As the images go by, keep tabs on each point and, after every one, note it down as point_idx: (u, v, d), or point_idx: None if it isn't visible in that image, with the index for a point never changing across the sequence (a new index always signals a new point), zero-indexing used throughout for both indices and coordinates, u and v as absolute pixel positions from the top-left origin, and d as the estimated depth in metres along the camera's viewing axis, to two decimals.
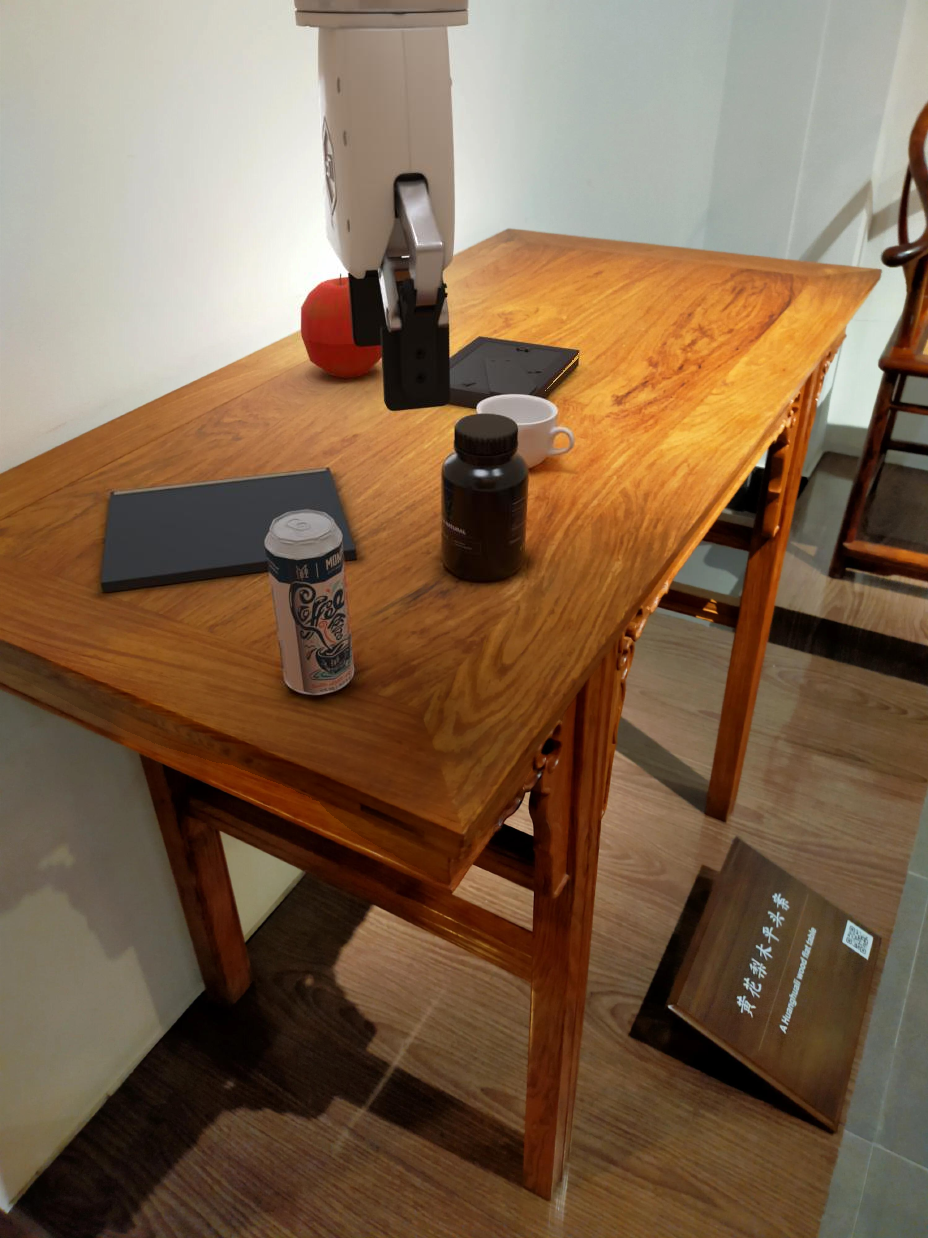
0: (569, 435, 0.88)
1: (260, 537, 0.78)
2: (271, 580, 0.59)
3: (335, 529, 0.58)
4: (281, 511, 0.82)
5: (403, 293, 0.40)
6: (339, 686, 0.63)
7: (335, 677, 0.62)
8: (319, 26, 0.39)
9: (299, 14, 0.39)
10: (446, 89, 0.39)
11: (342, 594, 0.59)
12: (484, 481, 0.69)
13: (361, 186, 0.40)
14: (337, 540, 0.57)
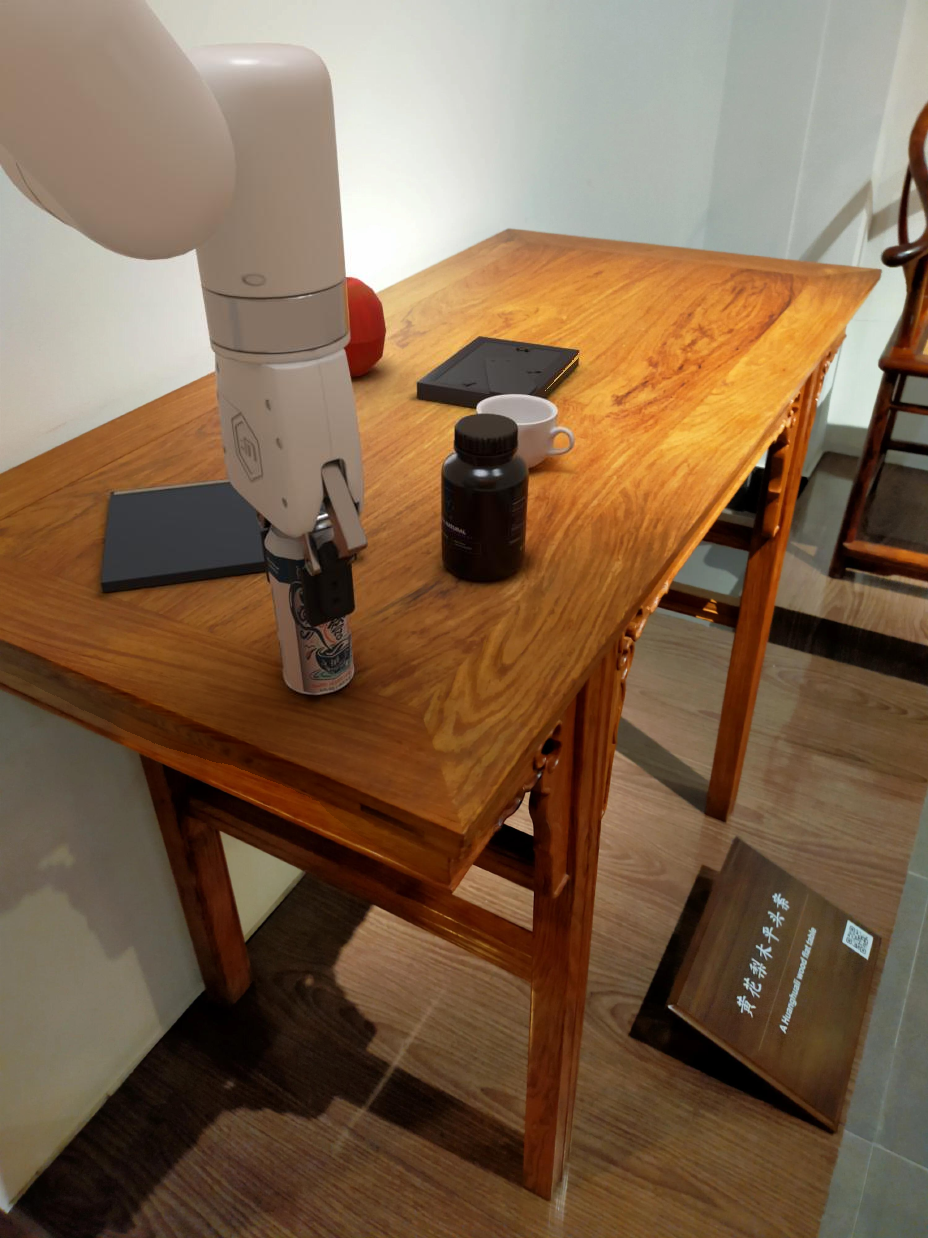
0: (569, 435, 0.88)
1: (260, 537, 0.78)
2: (271, 580, 0.59)
3: None
4: None
5: (327, 554, 0.53)
6: (339, 686, 0.63)
7: (335, 677, 0.62)
8: (245, 362, 0.48)
9: (221, 349, 0.49)
10: (352, 396, 0.50)
11: None
12: (484, 481, 0.69)
13: (296, 477, 0.50)
14: None
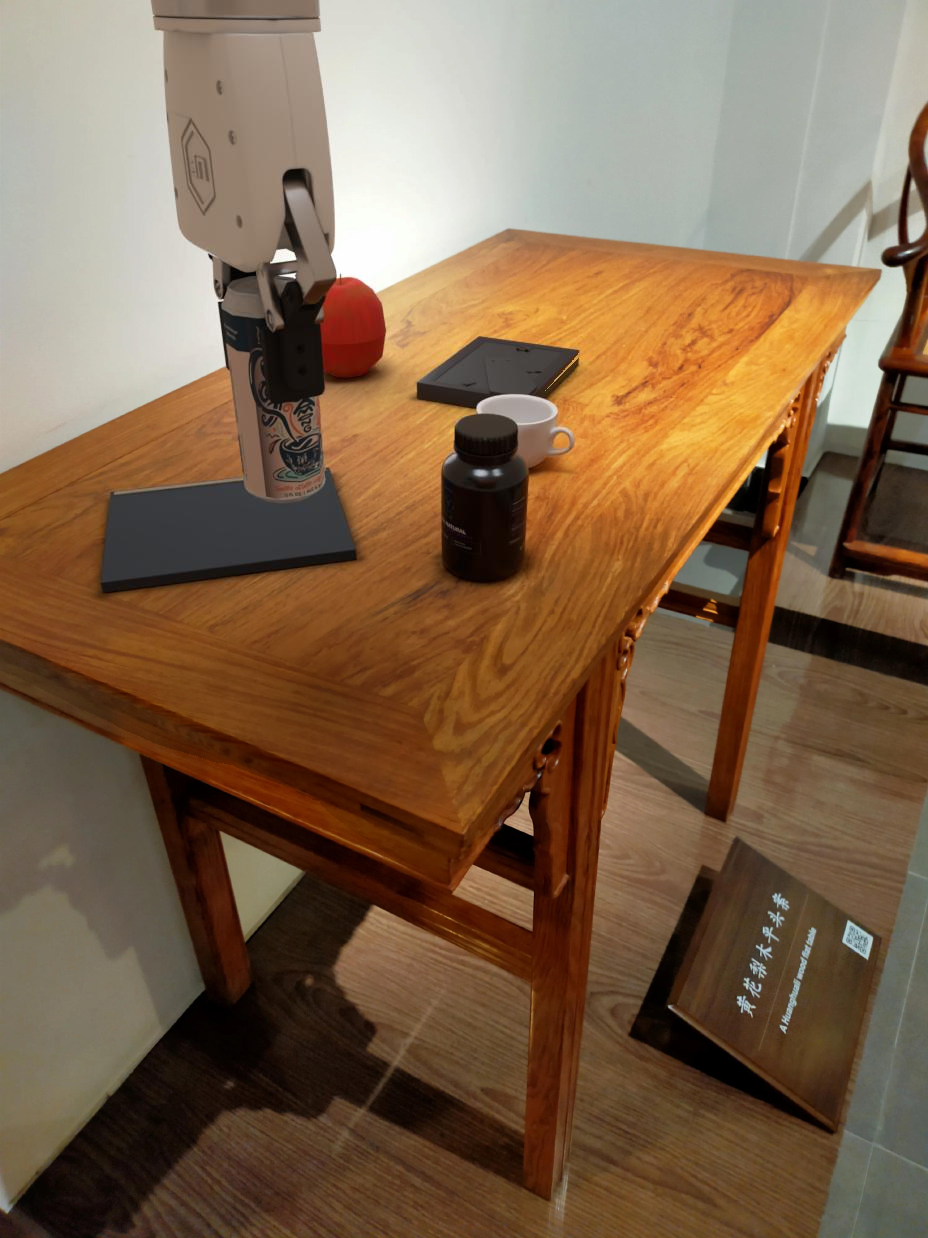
0: (569, 435, 0.88)
1: (260, 537, 0.78)
2: (229, 353, 0.51)
3: None
4: (281, 511, 0.82)
5: (290, 294, 0.45)
6: (307, 493, 0.55)
7: (303, 479, 0.54)
8: (192, 31, 0.40)
9: (165, 20, 0.41)
10: (320, 90, 0.42)
11: None
12: (484, 481, 0.69)
13: (253, 182, 0.42)
14: None
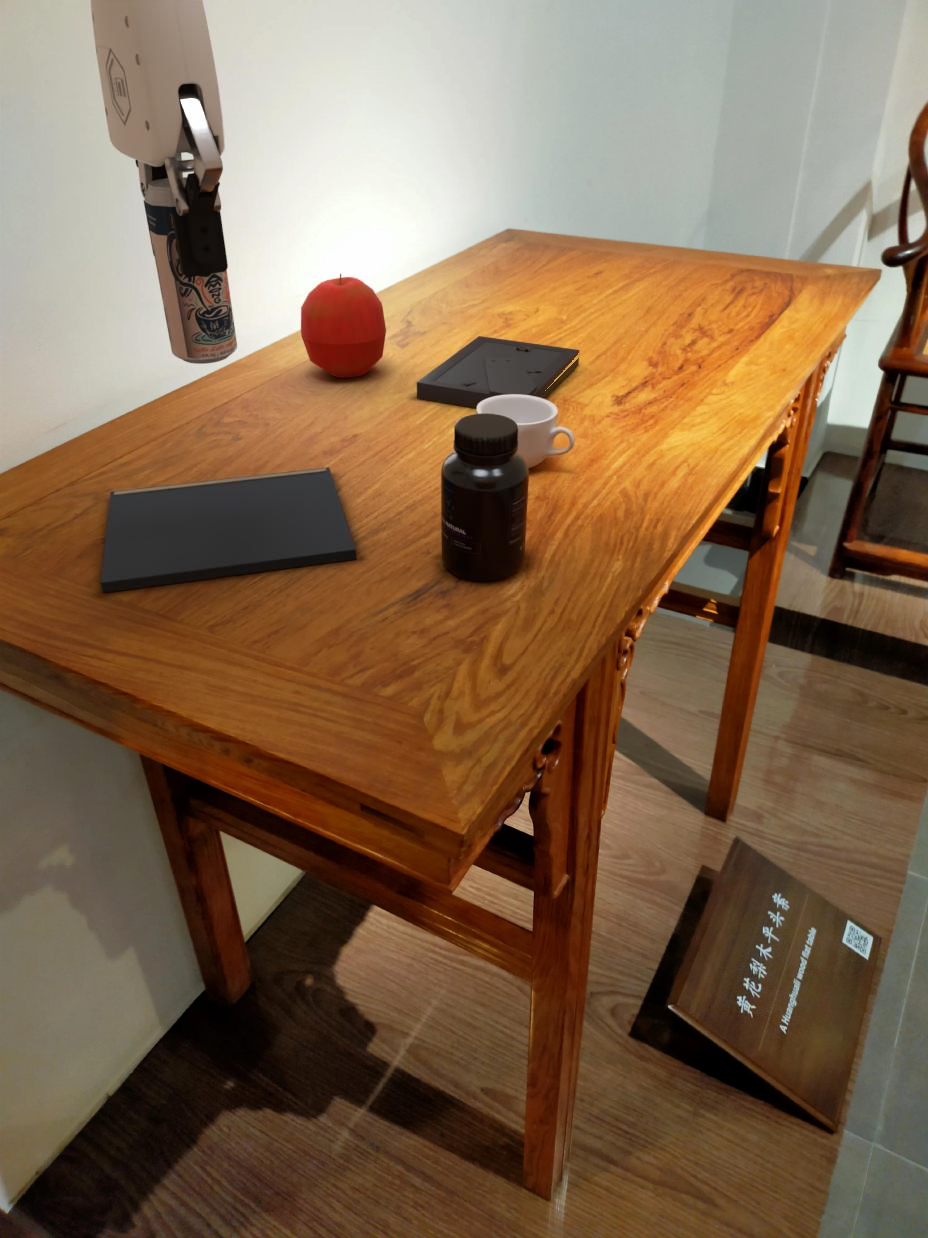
0: (569, 435, 0.88)
1: (260, 537, 0.78)
2: (152, 239, 0.65)
3: None
4: (281, 511, 0.82)
5: (190, 183, 0.59)
6: (221, 354, 0.69)
7: (216, 343, 0.68)
8: None
9: None
10: (205, 23, 0.56)
11: None
12: (484, 481, 0.69)
13: (155, 93, 0.56)
14: None
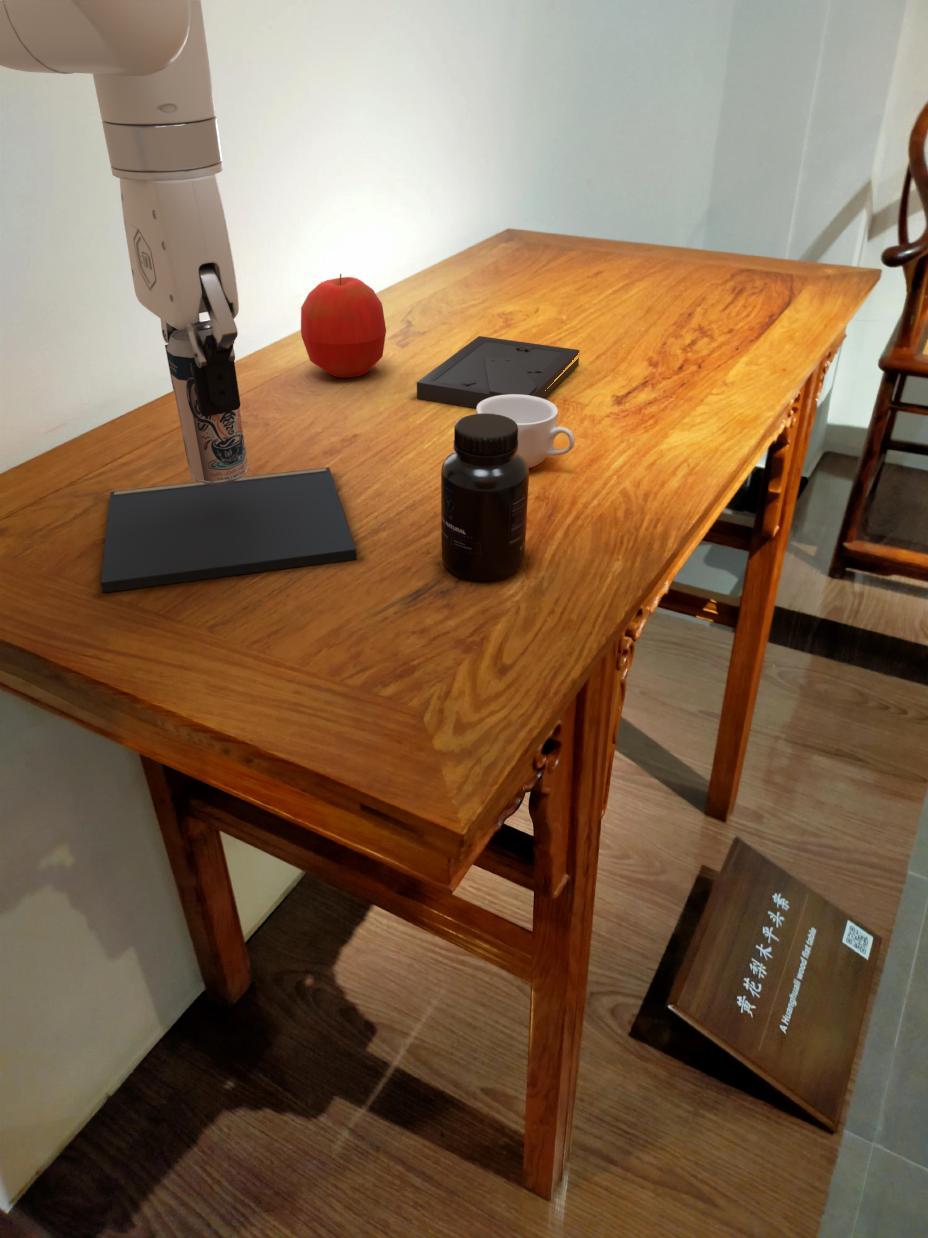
0: (569, 435, 0.88)
1: (260, 537, 0.78)
2: (173, 381, 0.73)
3: None
4: (281, 511, 0.82)
5: (208, 344, 0.67)
6: (234, 477, 0.77)
7: (230, 468, 0.76)
8: (135, 179, 0.62)
9: (118, 171, 0.63)
10: (222, 211, 0.64)
11: None
12: (484, 481, 0.69)
13: (178, 274, 0.64)
14: None
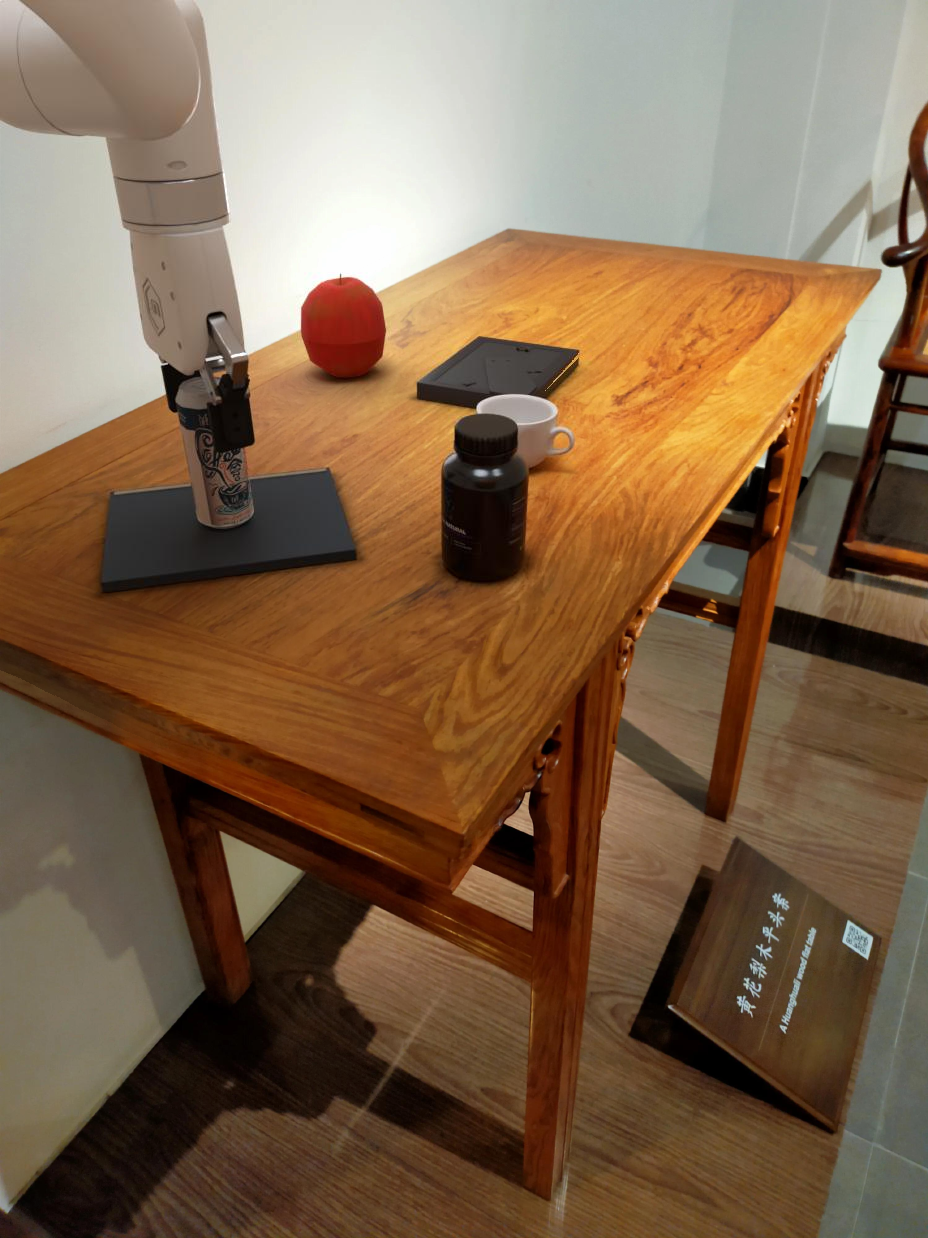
0: (569, 435, 0.88)
1: (260, 537, 0.78)
2: (182, 430, 0.75)
3: None
4: (281, 511, 0.82)
5: (224, 383, 0.67)
6: (240, 521, 0.79)
7: (236, 513, 0.79)
8: (145, 232, 0.64)
9: (128, 224, 0.65)
10: (229, 262, 0.66)
11: None
12: (484, 481, 0.69)
13: (187, 323, 0.66)
14: None
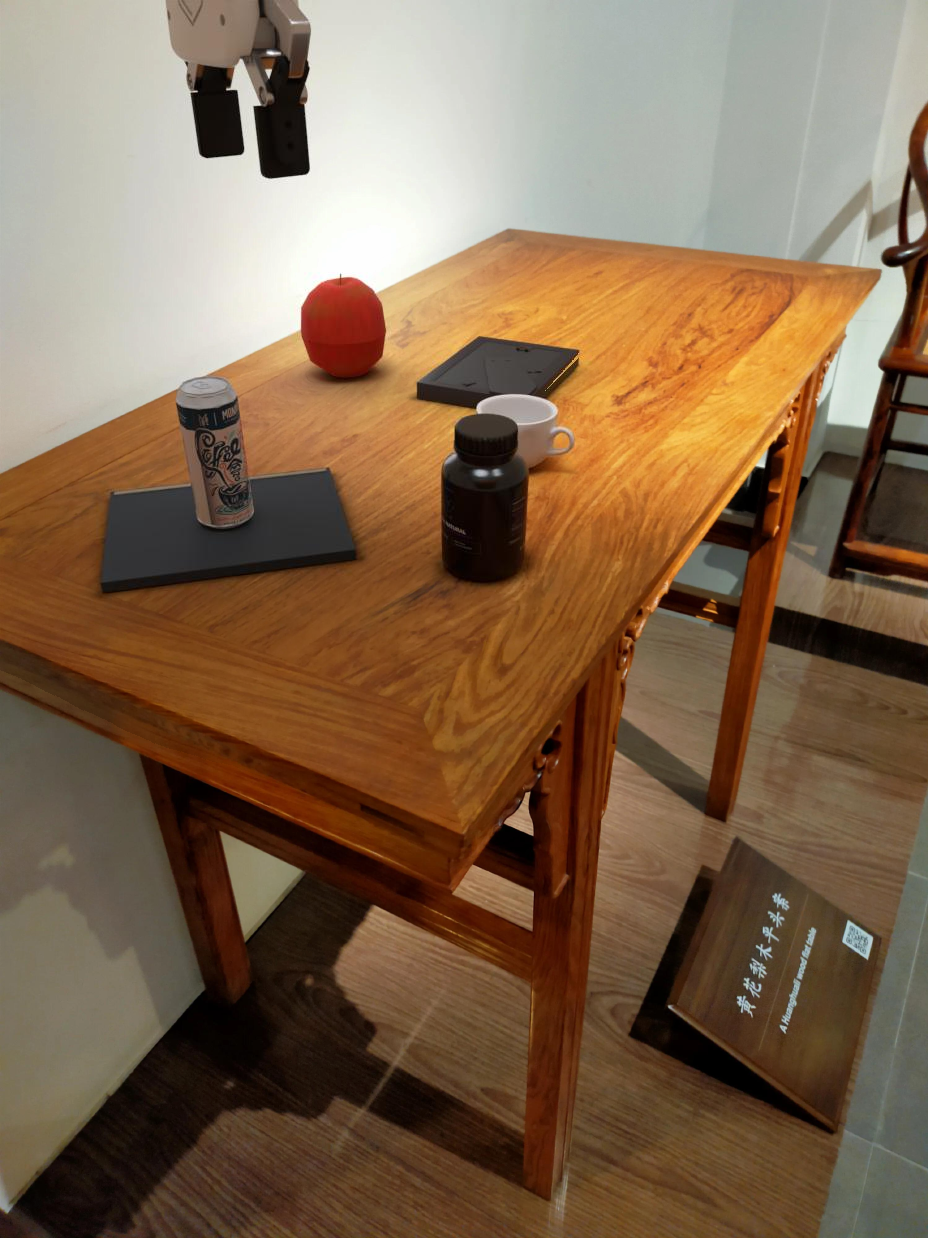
0: (569, 435, 0.88)
1: (260, 537, 0.78)
2: (182, 430, 0.75)
3: (230, 389, 0.74)
4: (281, 511, 0.82)
5: (279, 65, 0.54)
6: (240, 521, 0.79)
7: (236, 513, 0.79)
8: None
9: None
10: None
11: (238, 442, 0.76)
12: (484, 481, 0.69)
13: None
14: (231, 397, 0.74)
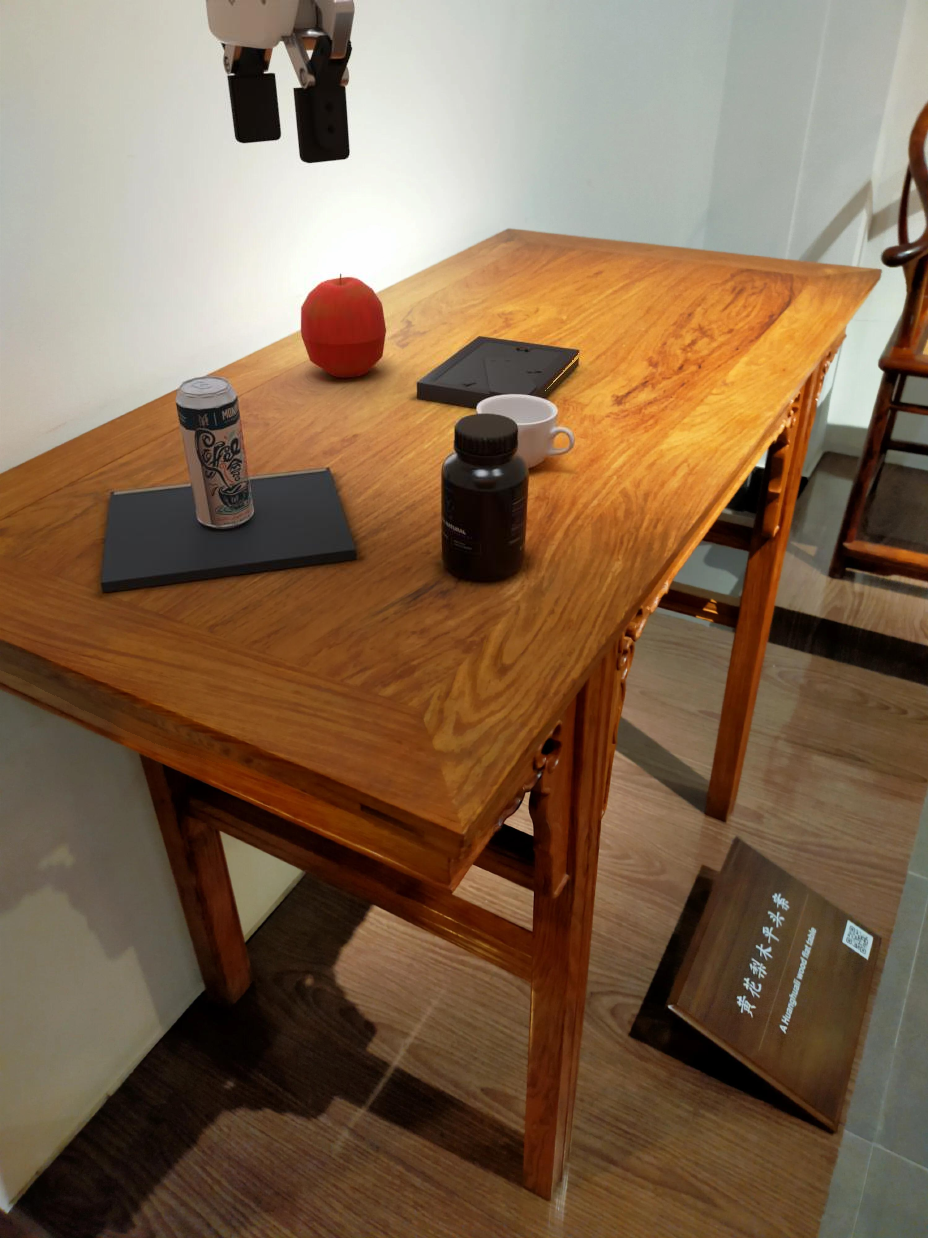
0: (569, 435, 0.88)
1: (260, 537, 0.78)
2: (182, 430, 0.75)
3: (230, 389, 0.74)
4: (281, 511, 0.82)
5: (321, 46, 0.52)
6: (240, 521, 0.79)
7: (236, 513, 0.79)
8: None
9: None
10: None
11: (238, 442, 0.76)
12: (484, 481, 0.69)
13: None
14: (231, 397, 0.74)
